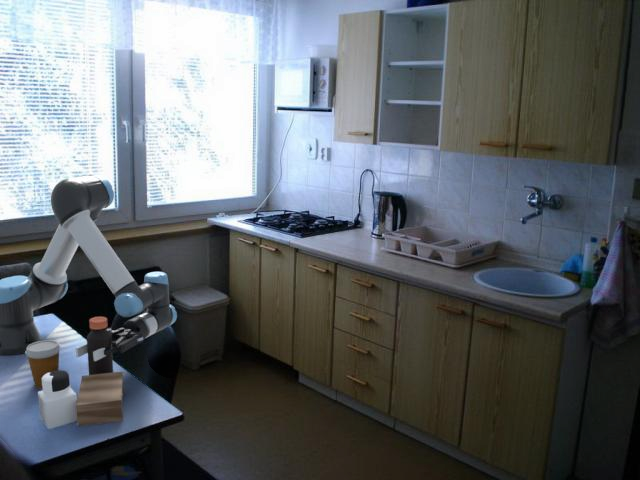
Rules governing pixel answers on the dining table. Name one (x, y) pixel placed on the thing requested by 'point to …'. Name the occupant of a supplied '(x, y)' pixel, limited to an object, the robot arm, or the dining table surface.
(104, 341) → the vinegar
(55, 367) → the disposable coffee cup
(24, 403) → the dining table surface
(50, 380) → the container
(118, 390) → the wooden block
